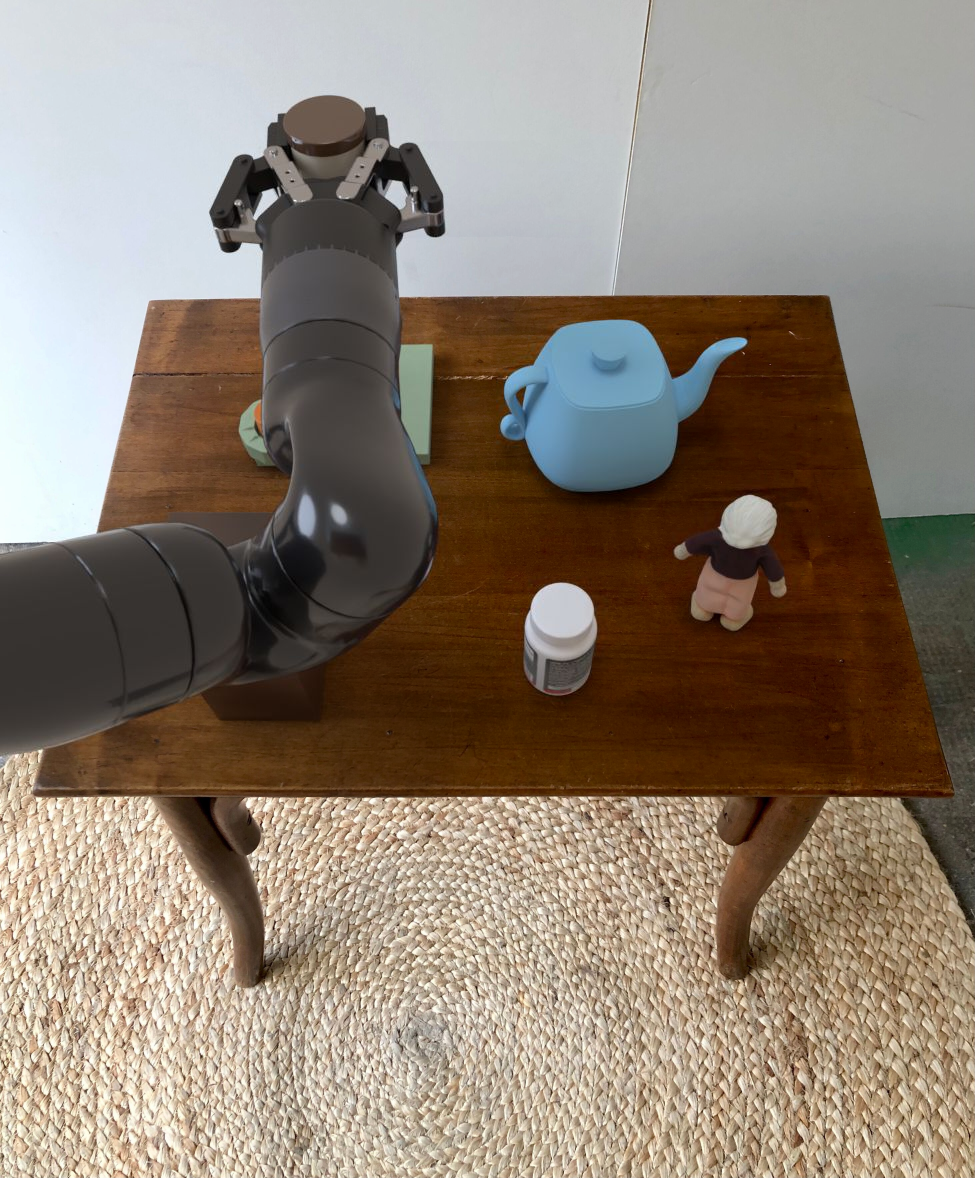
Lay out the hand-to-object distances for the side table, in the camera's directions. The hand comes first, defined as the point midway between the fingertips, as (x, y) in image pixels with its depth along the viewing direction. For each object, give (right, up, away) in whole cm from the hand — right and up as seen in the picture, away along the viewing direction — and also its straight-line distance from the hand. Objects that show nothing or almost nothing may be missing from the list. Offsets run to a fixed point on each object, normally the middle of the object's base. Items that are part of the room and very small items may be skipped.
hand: (328, 124), depth 58 cm
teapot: (+20, -18, +16) cm, 31 cm away
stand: (-5, -36, +6) cm, 37 cm away
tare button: (-6, -17, +14) cm, 23 cm away
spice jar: (0, -6, +5) cm, 7 cm away
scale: (-1, -15, +18) cm, 23 cm away
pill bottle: (+15, -35, +6) cm, 39 cm away
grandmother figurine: (+27, -31, +8) cm, 42 cm away
